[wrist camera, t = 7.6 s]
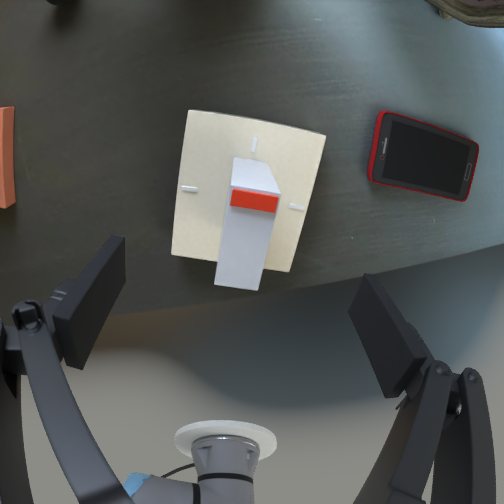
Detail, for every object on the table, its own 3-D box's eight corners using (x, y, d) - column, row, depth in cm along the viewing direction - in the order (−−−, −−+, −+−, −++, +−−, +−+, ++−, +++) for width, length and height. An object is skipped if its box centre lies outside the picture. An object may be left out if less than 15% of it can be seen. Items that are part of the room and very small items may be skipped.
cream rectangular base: (285, 257, 33) (289, 273, 31) (176, 241, 32) (170, 255, 29) (318, 132, 27) (327, 136, 24) (193, 108, 26) (188, 109, 23)
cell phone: (462, 200, 30) (466, 203, 30) (364, 179, 29) (367, 182, 28) (476, 142, 27) (480, 144, 26) (377, 108, 26) (381, 108, 25)
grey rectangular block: (252, 234, 29) (257, 292, 20) (220, 229, 28) (213, 286, 20) (268, 162, 25) (282, 194, 17) (233, 156, 25) (230, 185, 17)
